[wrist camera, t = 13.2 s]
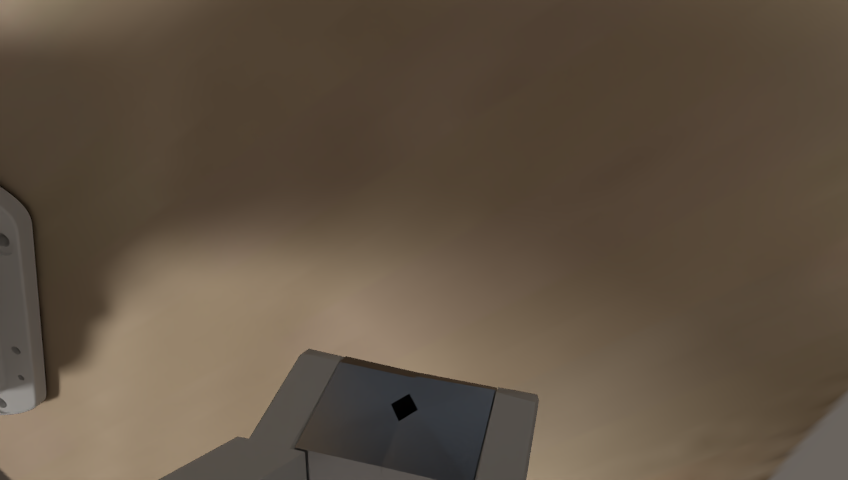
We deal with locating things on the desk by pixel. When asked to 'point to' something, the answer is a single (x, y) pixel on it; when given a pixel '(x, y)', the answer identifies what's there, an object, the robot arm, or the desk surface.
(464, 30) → the desk surface
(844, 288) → the desk surface
